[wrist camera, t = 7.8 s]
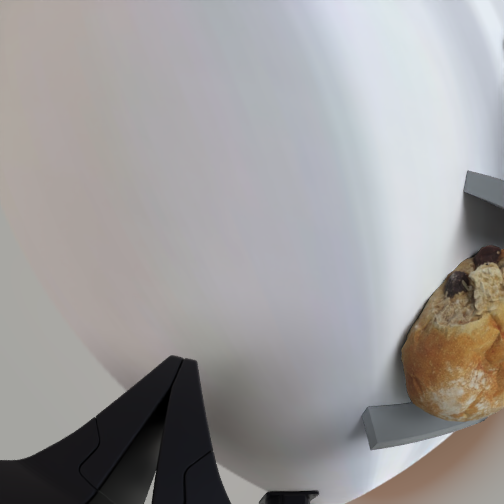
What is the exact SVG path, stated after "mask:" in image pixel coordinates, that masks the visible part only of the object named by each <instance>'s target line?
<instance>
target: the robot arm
mask: <svg viewBox="0 0 504 504" xmlns="http://www.w3.org/2000/svg"><path fill="white" fill-rule="evenodd" d="M155 471H156V475H155V482H154V490H153V497H152V504H231V502H230V500H229V498H228V496H227V494H226V491H225V489H224V486H223V484H222V481H221V478H220V475H219V472H218V468H217V464H216V460H215V456H214V452H213V447H212V443H211V438H210V433H209V428H208V423H207V418H206V412H205V407H204V401H203V395H202V389H201V383H200V377H199V370H198V364H197V361H196V360H192V359H188V358H185V359H183V358H182V357H178V356H174V355H171V356H169V357H168V358H167V359H166V360H164V361H163V362H162V363H161V364H160V365H158V366H157V367H156V368H155V369H154V370H152V371H151V372H150V373H149V374H147V375H146V376H145V377H144V378H143V379H141V380H140V381H139V382H138V383H137V384H135V385H134V386H133V387H132V388H130V389H129V390H128V391H127V392H125V393H124V394H123V395H122V396H121V397H119V398H118V399H117V400H115V401H114V402H113V403H112V404H111V405H109V406H108V407H107V408H106V409H104V410H103V411H102V412H100V413H99V414H98V415H97V416H96V418H95V417H94V418H93V419H91V420H90V421H89V422H88V423H86V424H85V425H83V426H82V427H81V428H79V429H78V430H76V431H75V432H74V433H72V434H70V435H69V436H67V437H66V438H64V439H62V440H61V441H59V442H57V443H55V444H53V445H51V446H49V447H48V448H46V449H44V450H42V451H40V452H38V453H36V454H35V455H32V456H30V457H27V458H24V459H20V460H0V504H144V502H145V499H146V497H147V494H148V491H149V488H150V485H151V483H152V480H153V477H154V474H155ZM318 495H319V492H267V493H266V494H265V495H264V496H263V497H262V499H261V500H260V501H259V504H310V501H311V500H312V499H314V498H315V497H316V496H318Z"/></svg>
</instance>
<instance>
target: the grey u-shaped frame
mask: <svg viewBox="0 0 504 504" xmlns="http://www.w3.org/2000/svg"><path fill="white" fill-rule="evenodd" d="M464 192H466V193H469V194H471V195H473V196H476V197H478V198H480V199H482V200H484V201H487V202H489V203H491V204H493V205H495V206H497V207H499V208H501V209H503V210H504V180H501V179H497V178H494V177H490V176H487V175H483V174H479V173H476V172H472V171H468V172H467V178H466V183H465V188H464ZM362 417H363V421H364V425H365V429H366V433H367V437H368V442H369V446H370V450H376V449H382V448H388V447H394V446H399V445H405V444H409V443H414V442H418V441H422V440H426V439H430V438H434V437H438V436H441V435H444V434H448V433H451V432H454V431H457V430H460V429H463V428H466V427H468V426H471V425H474V424H477V423H479V422H482V421H484V420H485V419H486V418H487V417H485V418H482V419H478V420H475V421H466V422H458V421H447V420H443V419H440V418H438V417H435V416H433V415H431V414H429V413H427V412H425V411H424V410H422V409H421V408H419V407H417V406H416V405H415V404H413V403H406V404H398V405H388V406H376V407H368V408H367V409H366V410H365V412H364V413H363V415H362Z"/></svg>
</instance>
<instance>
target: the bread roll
mask: <svg viewBox="0 0 504 504" xmlns="http://www.w3.org/2000/svg"><path fill="white" fill-rule="evenodd" d="M401 352H402V356H401V357H402V359H401V361H402V363H403V366H404V374H405V379H406V388H407V393H408V395H409V397H410V399H411V401H412V402H413V404H415V405H416V406H417V407H419V408H421V409H422V410H424V411H425V412H427V413H429V414H431V415H433V416H435V417H438V418H440V419H443V420H447V421H458V422H466V421H475V420H478V419H482V418H485V417H488V416H490V415H492V414H494V413H496V412H498V411H499V410H501V409H502V408H504V249H500V248H499V247H496V246H493V245H487V246H485V247H482V248H481V249H480V250H479V252H478V253H477V254H476V255H475V257H472V258H469V259H468V258H467V259H466V260H464V261H463V262H461V263H460V264H459V266H458V267H457V268H456V269H455V270H454V271H453V272H451V273H450V274H449V275H448V276H447V278H446V279H445V281H444V282H443V283H442V285H441V286H440V287H439V288H438V289H437V290H436V291H435V292H434V293H433V294H432V296H431V297H430V299H429V300H428V302H427V304H426V306H425V308H424V309H423V311H422V313H421V314H420V316H419V318H418V319H417V320H416V321H415V323H414V324H413V325H412V327H411V329H410V331H409V333H408V335H407V340H406V342H405V344H404V346H403V347H402V350H401Z"/></svg>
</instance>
